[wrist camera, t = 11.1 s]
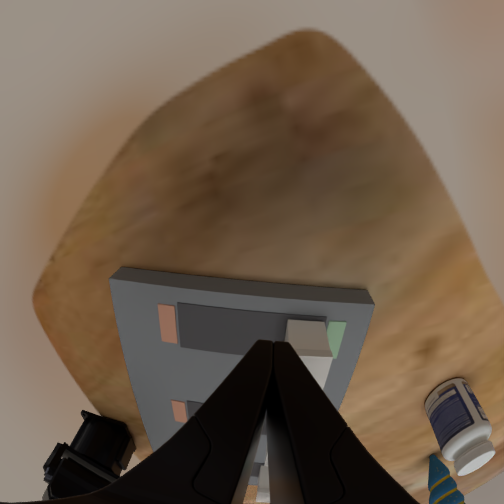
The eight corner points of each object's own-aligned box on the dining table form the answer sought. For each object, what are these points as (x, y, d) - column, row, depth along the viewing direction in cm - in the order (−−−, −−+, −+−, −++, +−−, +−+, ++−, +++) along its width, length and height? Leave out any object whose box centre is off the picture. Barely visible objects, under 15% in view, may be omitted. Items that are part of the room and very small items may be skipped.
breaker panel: (164, 458, 31) (160, 470, 29) (121, 267, 21) (108, 279, 19) (301, 474, 30) (301, 487, 28) (367, 290, 20) (375, 305, 18)
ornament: (430, 446, 28) (456, 535, 14) (455, 443, 28) (482, 524, 14) (409, 465, 30) (428, 549, 16) (434, 462, 30) (455, 539, 16)
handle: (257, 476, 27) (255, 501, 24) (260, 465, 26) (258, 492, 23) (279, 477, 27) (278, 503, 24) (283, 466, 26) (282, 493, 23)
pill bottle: (417, 415, 25) (441, 486, 16) (432, 381, 23) (466, 458, 14) (456, 405, 25) (484, 469, 15) (473, 372, 23) (511, 438, 14)
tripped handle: (281, 357, 20) (280, 394, 17) (287, 318, 19) (288, 354, 16) (316, 359, 20) (321, 396, 17) (325, 321, 19) (333, 357, 15)
